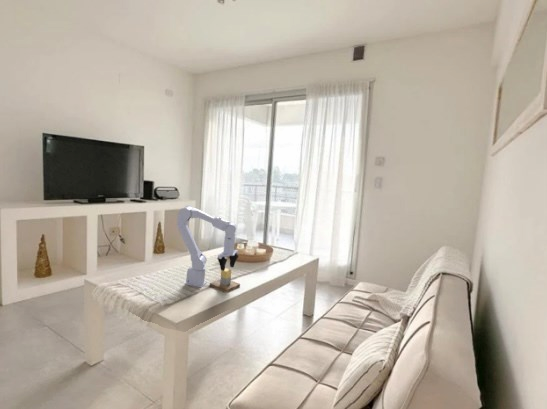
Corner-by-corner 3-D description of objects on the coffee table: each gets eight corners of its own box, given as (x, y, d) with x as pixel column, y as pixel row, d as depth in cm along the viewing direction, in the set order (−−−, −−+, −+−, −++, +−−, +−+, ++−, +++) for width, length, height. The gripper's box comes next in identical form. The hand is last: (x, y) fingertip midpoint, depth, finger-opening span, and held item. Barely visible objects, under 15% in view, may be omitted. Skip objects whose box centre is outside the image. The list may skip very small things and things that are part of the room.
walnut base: (225, 292, 162) (225, 290, 162) (209, 285, 169) (209, 283, 169) (239, 286, 172) (240, 284, 172) (224, 280, 179) (224, 277, 179)
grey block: (225, 285, 168) (226, 278, 167) (220, 283, 170) (220, 276, 169) (230, 283, 171) (231, 277, 170) (225, 281, 173) (225, 274, 172)
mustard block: (225, 278, 167) (226, 271, 167) (220, 276, 169) (221, 269, 169) (230, 277, 170) (231, 270, 170) (225, 274, 173) (226, 268, 172)
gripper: (225, 249, 159) (223, 273, 161) (243, 244, 171) (241, 267, 173) (215, 245, 163) (213, 270, 165) (233, 241, 175) (231, 264, 177)
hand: (227, 268), depth 169 cm, fingers open, 7 cm apart
